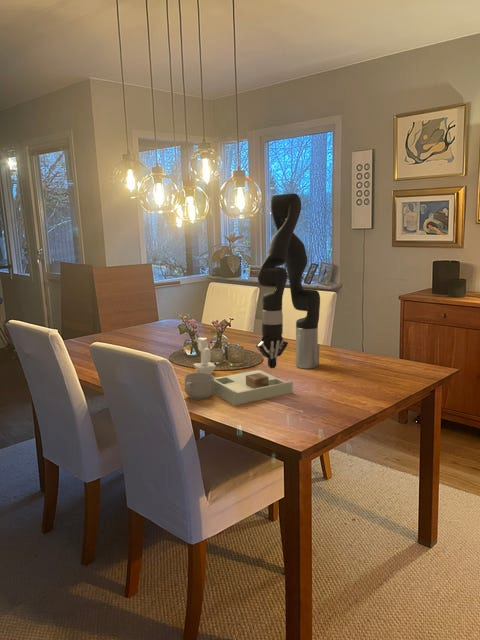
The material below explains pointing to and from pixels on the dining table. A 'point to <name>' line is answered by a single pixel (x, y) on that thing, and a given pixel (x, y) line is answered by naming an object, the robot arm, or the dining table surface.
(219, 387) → the box
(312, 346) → the robot arm
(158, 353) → the dining table surface
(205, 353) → the figurine
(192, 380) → the teacup
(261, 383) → the block
